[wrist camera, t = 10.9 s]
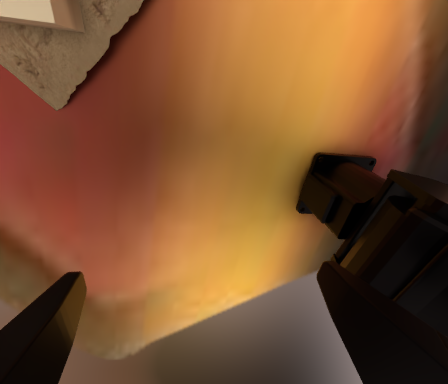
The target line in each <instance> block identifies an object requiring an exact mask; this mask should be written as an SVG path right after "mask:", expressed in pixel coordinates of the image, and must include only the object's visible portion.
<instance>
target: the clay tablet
mask: <svg viewBox="0 0 448 384" xmlns="http://www.w3.org/2000/svg"><path fill="white" fill-rule="evenodd" d="M143 1H144V0H80V6H81V13H82V18H83V24H84V29H85V33H84V32H76V31H68V30H60V29H52V28H44V27H37V26H29V25H21V24H13V23H5V22H0V64H1V65H2V66H3V67H5V68H6V69H7V70H8V71H10V72H11V73H12V74H14V75H15V76H16V77H17V78H18V79H19V80H20V81H21V82H23V83H24V84H25V85H26V86H28V87H29V88H30V89H31V90H32V91H33V92H34V93H36V94H37V95H38V96H39V97H41V98H42V99H43V100H44V101H45V102H46V103H48V104H49V105H50V106H52V107H53V108H54V109H55V110H56V111H57V110H58V109H59V108H60V109H61V108H62V107H63V106H64V105H66V104H67V100H68V99H70V97H69V96H70V94H72V93H73V92H74V91H75V89H76V85H79V84H80V83H82V81H83V80H85V77H87V75H86V71H89V70H90V69H91V68H92V67H93V66H94V65H95V64H96V63H97V62H98V61H99V59H100V58H101V57H102V56H103V55H104V53H105V52H106V50H107V49H108V47H109V43H110V37H111V36H112V35H115V34H116V33H118V32H119V31H120V30H121V29H122V27H123V25H124V24H125V23H126V22H128V19H129V17H130V16H131V15H134V14H135V13H137V12H138V10H139V8H140V7H141V4H142V2H143Z"/></svg>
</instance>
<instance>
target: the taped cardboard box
mask: <svg viewBox="0 0 448 384" xmlns="http://www.w3.org/2000/svg"><path fill="white" fill-rule="evenodd" d="M0 22H5V23H13V24H21V25H29V26H37V27H44V28H52V29H60V30H68V31H76V32H84V33H85V29H84V24H83V18H82V13H81V6H80V0H0Z"/></svg>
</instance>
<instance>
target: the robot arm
mask: <svg viewBox="0 0 448 384" xmlns="http://www.w3.org/2000/svg"><path fill="white" fill-rule="evenodd" d="M320 157H321V159H320V160H319V158H320ZM375 164H376V159H375V158H373V157H368V156H356V155H343V154H331V153H318V154H316V155H315V157H314V159H313V162H312V165H311V168H310V170H309V173H308V176H307V178H306V180H305V183H304V186H303V189H302V192H301V195H300V199H299V201H298V204H297V207H296V210H297V211H298V212H299V213H301V214H314V215H315V216H316V217H317V218H318V219H319V221H320V222H321V223H325V225H326V226H327V227H328V228H329V229H330V230H331V231H332V232H333V233H334V235H335V236H336V237H337V238H338V239H344V242H343V243H342V245H341V246H340V248H339V249H338V251H337V252H336V254H333V256H332V257H331V261H324V262H323V263H322V265H321V267H320V269H319V271H318V273H317V281H318V284H319V286H320V289H321V292H322V294H323V297H324V300H325V302H326V305H327V308H328V310H329V313H330V315H331V318H332V320H333V322H334V324H335V326H336V328H337V330H338V333H339V335H340V337H341V339H342V341H343V343H344V345H345V347H346V349H347V351H348V353H349V355H350V357H351V359H352V362H353V364H354V366H355V368H356V370H357V372H358V374H359V376H360V378H361V380H362V382H363V384H448V185H446V184H444V183H441V182H439V181H436V180H433V179H429V178H425V177H421V176H417V175H413V174H409V173H405V172H401V171H397V170H393V169H391V171H390V172H389V174H388V175H387V177H388V178H387V179H386V180H385V179H383V178H381V177H380V176H378V175H376V174H374V173H373V172H372V170H373V168H374V166H375ZM301 208H302V209H301ZM86 292H87V288H86V283H85V279H84V275H83V273H82V272H80V271H79V272H68V273H66V274H64V275H63V276H62V277H61V278H60V279H59V280H58V281H56V282H55V283H54V284H53V285H52V286H51V287H49V288H48V289H47V290H46V291H45V292H44V293H43V294H41V295H40V296H39V297H38V298H37V299H36V300H35V301H33V302H32V303H31V304H30V305H29V306H28V307H26V308H25V309H24V310H23V311H22V312H21V313H20V314H18V315H17V316H16V317H15V318H14V319H13V320H11V321H10V322H9V323H8V324H7V325H6V326H5V327H3V328H2V329H1V330H0V384H58V383H59V380H60V378H61V375H62V372H63V369H64V367H65V364H66V361H67V359H68V356H69V353H70V351H71V348H72V345H73V342H74V338H75V335H76V331H77V327H78V323H79V320H80V316H81V312H82V308H83V305H84V301H85V297H86Z"/></svg>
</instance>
